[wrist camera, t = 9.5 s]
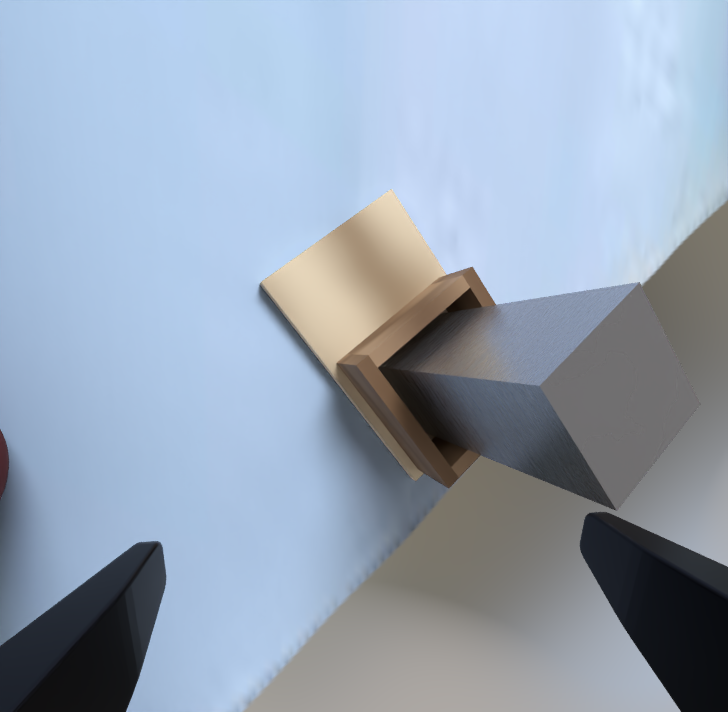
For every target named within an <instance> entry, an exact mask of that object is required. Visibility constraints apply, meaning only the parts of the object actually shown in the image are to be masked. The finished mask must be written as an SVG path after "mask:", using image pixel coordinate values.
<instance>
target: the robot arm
mask: <svg viewBox="0 0 728 712" xmlns="http://www.w3.org/2000/svg"><path fill="white" fill-rule="evenodd" d="M580 550H581V553H582V555H583V557H584V559H585V561H586V563H587V564H588V566H589V568H590V569H591V571H592V573H593V575H594V577H595V578H596V580H597V582H598V584H599V585H600V587H601V589H602V591H603V592H604V594H605V596H606V598H607V599H608V601H609V603H610V605H611V606H612V608H613V610H614V612H615V613H616V615H617V617H618V618H619V620H620V622H621V623H622V625H623V627H624V628H625V630H626V631H627V633H628V634H629V636H630V637H631V639H632V640H633V642H634V643H635V645H636V646H637V648H638V649H639V651H640V652H641V653H642V655H643V656H644V658H645V659H646V661H647V662H648V664H649V665H650V667H651V668H652V670H653V671H654V673H655V674H656V675H657V677H658V679H659V680H660V681H661V683H662V684H663V686H664V687H665V689H666V690H667V692H668V693H669V695H670V696H671V698H672V699H673V700H674V702H675V703H676V705H677V706H678V708H679V709H680V711H681V712H728V567H727V566H725V565H723V564H720V563H718V562H716V561H714V560H711V559H709V558H707V557H705V556H702V555H700V554H698V553H696V552H694V551H691V550H689V549H687V548H685V547H683V546H681V545H678V544H676V543H674V542H672V541H670V540H667V539H665V538H663V537H661V536H659V535H656V534H654V533H652V532H650V531H647V530H645V529H643V528H641V527H639V526H636V525H634V524H632V523H630V522H627V521H625V520H623V519H621V518H619V517H617V516H614V515H612V514H610V513H607V512H595V513H589V514H588V515H587V516H586V517H585V520H584V525H583V530H582V535H581V540H580ZM165 585H166V570H165V562H164V554H163V547H162V545H161V543H160V542H158V541H151V542H139V543H136V544H135V545H133V546H132V547H131V548H129V549H128V550H127V551H125V552H124V553H123V554H121V555H120V556H119V557H118V558H116V559H115V560H114V561H112V562H111V563H110V564H108V565H107V566H106V567H104V568H103V569H102V570H100V571H99V572H98V573H96V574H95V575H94V576H92V577H91V578H90V579H88V580H87V581H86V582H85V583H83V584H82V585H81V586H79V587H78V588H77V589H75V590H74V591H73V592H71V593H70V594H69V595H67V596H66V597H65V598H63V599H62V600H61V601H59V602H58V603H57V604H55V605H54V606H53V607H52V608H50V609H49V610H48V611H46V612H45V613H44V614H42V615H41V616H40V617H38V618H37V619H36V620H34V621H33V622H32V623H30V624H29V625H28V626H26V627H25V628H24V629H22V630H21V631H20V632H19V633H17V634H16V635H15V636H13V637H12V638H11V639H9V640H8V641H7V642H5V643H4V644H3V645H1V646H0V712H126V710H127V708H128V705H129V703H130V700H131V697H132V695H133V692H134V689H135V687H136V684H137V681H138V679H139V675H140V672H141V669H142V666H143V663H144V659H145V656H146V652H147V649H148V645H149V642H150V638H151V635H152V631H153V628H154V624H155V621H156V618H157V614H158V611H159V607H160V604H161V600H162V597H163V593H164V590H165Z"/></svg>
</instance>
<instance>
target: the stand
mask: <svg viewBox="0 0 728 712" xmlns="http://www.w3.org/2000/svg"><path fill="white" fill-rule="evenodd" d="M260 285H261V287H262V288H263V289H264V290H265V292H266V293H267V294H268V296H269V297H270V298H271V299H272V301H273V302H274V303H275V304H276V306H277V307H278V308H279V310H280V311H281V312H282V313H283V315H284V316H285V317H286V319H287V320H288V321H289V322H290V324H291V325H292V326H293V328H294V329H295V330H296V331H297V333H298V334H299V335H300V337H301V338H302V339H303V340H304V342H305V343H306V344H307V346H308V347H309V348H310V349H311V351H312V352H313V353H314V355H315V356H316V357H317V358H318V360H319V361H320V362H321V364H322V365H323V366H324V367H325V369H326V370H327V371H328V373H329V374H330V375H331V376H332V378H333V379H334V380H335V382H336V383H337V384H338V385H339V387H340V388H341V389H342V390H343V392H344V393H345V394H346V396H347V397H348V398H349V399H350V401H351V402H352V403H353V405H354V406H355V407H356V408H357V410H358V411H359V412H360V414H361V415H362V416H363V417H364V419H365V420H366V421H367V423H368V424H369V425H370V426H371V428H372V429H373V430H374V432H375V433H376V434H377V435H378V437H379V438H380V439H381V441H382V442H383V443H384V444H385V446H386V447H387V448H388V450H389V451H390V452H391V453H392V455H393V456H394V457H395V459H396V460H397V461H398V462H399V464H400V465H401V466H402V467H403V469H404V470H405V471H406V473H407V474H408V475H409V476H410V478H411V479H413V480H414V481H417V480H418V479H419V478H420V477H421V476H422V475H423V474H424V473H425V474H426V475H428V476H430V477H431V478H433V479H434V480H436V481H438V482H439V483H441V484H443V485H444V486H446V487H448V488H450V487H451V486H452V485H453V484H454V482H455V481H456V480H457V479H458V478H459V477H460V476H461V475H462V474H463V473H464V472H465V471H466V470H467V469H468V468H469V467H470V466H471V465H472V464H473V463H474V462H475V460H476V459H477V458H478V457H479V456H480V455H479V454H477V453H474V452H472V451H469V450H467V449H464V448H462V447H460V446H457V445H455V444H452V443H450V442H447V441H445V440H442V439H440V438H437V437H435V436H433V435H430V434H428V433H426V432H425V431H424V430H423V428H422V427H421V426H420V424H419V423H418V422H417V420H416V419H415V418H414V416H413V415H412V413H411V412H410V411H409V409H408V408H407V407H406V405H405V404H404V403H403V401H402V400H401V399H400V397H399V396H398V394H397V393H396V392H395V390H394V389H393V388H392V386H391V385H390V384H389V382H388V381H387V380H386V378H385V377H384V376H383V374H382V373H381V371H380V370H379V369H378V367H379V366H380V365H382V364H383V363H384V362H385V361H386V360H387V359H388V358H390V357H391V356H392V355H393V354H394V353H395V352H396V351H398V350H399V349H400V348H401V347H402V346H403V345H405V344H406V343H407V342H408V341H409V340H410V339H411V338H413V337H414V336H415V335H416V334H417V333H418V332H420V331H421V330H422V329H423V328H424V327H425V326H426V325H428V324H429V323H430V322H431V321H432V320H433V319H434V318H436V317H437V316H438V315H439V314H441V313H448V312H454V311H460V310H467V309H473V308H479V307H486V306H492V305H496V304H495V303H494V301H493V299H492V298H491V296H490V294H489V293H488V291H487V290H486V288H485V286H484V285H483V283H482V282H481V280H480V278H479V277H478V275H477V273H476V272H475V270H474V269H473V267H470V268H467V269H464V270H461V271H458V272H455V273H451V274H448V275H446V273H445V271H444V270H443V268H442V267H441V265H440V264H439V262H438V260H437V259H436V257H435V256H434V254H433V253H432V251H431V250H430V248H429V246H428V245H427V243H426V242H425V240H424V239H423V237H422V235H421V234H420V232H419V231H418V229H417V228H416V226H415V225H414V223H413V221H412V220H411V218H410V217H409V215H408V214H407V212H406V210H405V209H404V207H403V206H402V204H401V203H400V201H399V200H398V198H397V196H396V195H395V193H394V192H393V190H392V189H391V190H389V191H388V192H387V193H385V194H384V195H382V196H381V197H380V198H378V199H377V200H375V201H374V202H373V203H371V204H370V205H368V206H367V207H366V208H364V209H363V210H361V211H360V212H359V213H357V214H356V215H354V216H353V217H352V218H350V219H349V220H347V221H346V222H345V223H343V224H342V225H340V226H339V227H337V228H336V229H335V230H333V231H332V232H330V233H329V234H328V235H326V236H325V237H323V238H322V239H321V240H319V241H318V242H316V243H315V244H314V245H312V246H311V247H309V248H308V249H307V250H305V251H304V252H302V253H301V254H300V255H298V256H297V257H295V258H294V259H293V260H291V261H290V262H288V263H287V264H286V265H284V266H283V267H281V268H280V269H279V270H277V271H276V272H274V273H273V274H272V275H270V276H269V277H267V278H266V279H265V280H263V281H262V282H261V283H260Z"/></svg>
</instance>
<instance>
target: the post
mask: <svg viewBox="0 0 728 712" xmlns="http://www.w3.org/2000/svg"><path fill="white" fill-rule="evenodd" d="M378 369H379V370H380V371H381V373H382V374H383V376H384V377H385V378H386V380H387V381H388V382H389V384H390V385H391V386H392V388H393V389H394V390H395V392H396V393H397V394H398V396H399V397H400V399H401V400H402V401H403V403H404V404H405V405H406V407H407V408H408V409H409V411H410V412H411V413H412V415H413V416H414V418H415V419H416V420H417V422H418V423H419V424H420V426H421V427H422V428H423V430H424V431H425V432H426V433H428V434H430V435H433V436H435V437H437V438H440V439H442V440H445V441H447V442H450V443H452V444H455V445H457V446H460V447H462V448H464V449H467V450H469V451H472V452H474V453H477V454H479V455H482V456H484V457H486V458H489V459H491V460H494V461H496V462H499V463H501V464H504V465H506V466H508V467H511V468H513V469H516V470H519V471H521V472H523V473H526V474H528V475H530V476H533V477H535V478H538V479H540V480H543V481H545V482H548V483H550V484H552V485H555V486H557V487H560V488H562V489H565V490H567V491H570V492H572V493H574V494H577V495H579V496H582V497H584V498H587V499H589V500H592V501H594V502H596V503H599V504H601V505H604V506H606V507H609V508H611V509H614V510H616V511H617V510H618V509H619V507H620V506H621V505H622V504H623V503H624V501H625V500H626V499H627V497H628V496H629V495H630V493H631V492H632V491H633V490H634V489H635V487H636V486H637V485H638V483H639V482H640V481H641V480H642V478H643V477H644V476H645V475H646V473H647V472H648V471H649V469H650V468H651V467H652V466H653V464H654V463H655V462H656V461H657V459H658V458H659V457H660V455H661V454H662V453H663V452H664V450H665V449H666V448H667V446H668V445H669V444H670V443H671V441H672V440H673V439H674V438H675V436H676V435H677V434H678V432H679V431H680V430H681V429H682V427H683V426H684V425H685V423H686V422H687V421H688V420H689V418H690V417H691V416H692V414H693V413H694V412H695V411H696V409H697V408H698V407H699V406H700V402H699V400H698V398H697V396H696V394H695V392H694V390H693V388H692V386H691V384H690V382H689V380H688V378H687V376H686V374H685V372H684V370H683V368H682V366H681V364H680V362H679V360H678V358H677V356H676V354H675V352H674V350H673V348H672V346H671V344H670V342H669V340H668V338H667V336H666V334H665V332H664V330H663V328H662V326H661V324H660V322H659V320H658V318H657V316H656V314H655V312H654V310H653V308H652V306H651V304H650V302H649V300H648V298H647V296H646V294H645V292H644V290H643V288H642V286H641V284H640V282H638V283H632V284H626V285H619V286H613V287H607V288H600V289H594V290H587V291H581V292H575V293H568V294H562V295H556V296H549V297H543V298H537V299H530V300H524V301H518V302H511V303H505V304H498V305H492V306H486V307H479V308H473V309H467V310H460V311H454V312H448V313H441V314H439V315H438V316H437V317H436V318H434V319H433V320H432V321H431V322H430V323H429V324H428V325H426V326H425V327H424V328H423V329H422V330H421V331H420V332H418V333H417V334H416V335H415V336H414V337H413V338H411V339H410V340H409V341H408V342H407V343H406V344H405V345H403V346H402V347H401V348H400V349H399V350H398V351H396V352H395V353H394V354H393V355H392V356H391V357H390V358H388V359H387V360H386V361H385V362H384V363H383V364H382V365H380V366H379V367H378Z"/></svg>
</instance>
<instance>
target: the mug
mask: <svg viewBox="0 0 728 712" xmlns="http://www.w3.org/2000/svg"><path fill="white" fill-rule="evenodd" d="M8 469H9V456H8V449H7V445H6V441H5V439H4V436H3V433H2V432H1V430H0V499H1V497H2V494H3V491H4V489H5V485H6V482H7V477H8Z"/></svg>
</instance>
